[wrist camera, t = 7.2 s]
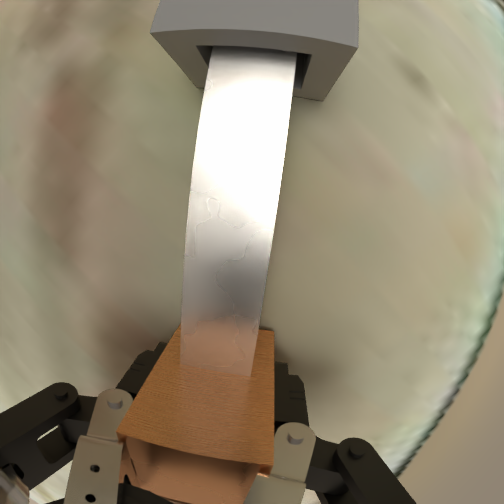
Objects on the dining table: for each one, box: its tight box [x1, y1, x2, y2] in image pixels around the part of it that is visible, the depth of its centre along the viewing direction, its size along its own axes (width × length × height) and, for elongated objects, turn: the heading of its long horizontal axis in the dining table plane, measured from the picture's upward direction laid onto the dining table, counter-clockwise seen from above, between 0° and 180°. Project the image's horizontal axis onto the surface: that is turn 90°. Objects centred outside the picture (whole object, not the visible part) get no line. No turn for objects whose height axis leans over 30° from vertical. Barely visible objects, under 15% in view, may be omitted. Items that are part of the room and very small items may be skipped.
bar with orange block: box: [116, 45, 297, 504], centre depth 9 cm, size 4×20×7 cm, turn 172°
